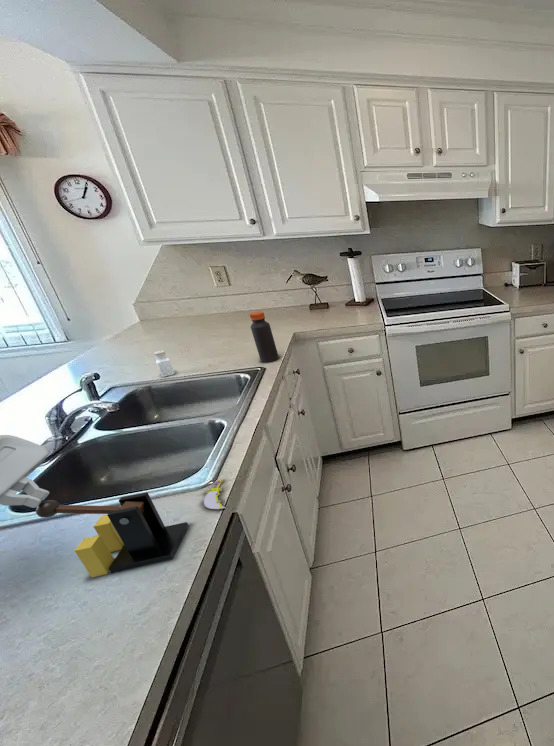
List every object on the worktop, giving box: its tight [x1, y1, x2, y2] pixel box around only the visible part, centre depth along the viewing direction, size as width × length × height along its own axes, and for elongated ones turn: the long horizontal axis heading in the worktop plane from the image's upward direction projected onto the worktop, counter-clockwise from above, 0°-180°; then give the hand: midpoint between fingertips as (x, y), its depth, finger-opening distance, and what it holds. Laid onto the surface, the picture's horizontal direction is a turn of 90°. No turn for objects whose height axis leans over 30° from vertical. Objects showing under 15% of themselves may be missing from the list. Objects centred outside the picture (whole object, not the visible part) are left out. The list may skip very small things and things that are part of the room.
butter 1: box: [92, 514, 124, 553], centre depth 82 cm, size 2×3×7 cm
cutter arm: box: [35, 499, 144, 519], centre depth 76 cm, size 15×3×3 cm, turn 108°
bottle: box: [249, 310, 280, 363], centre depth 167 cm, size 7×7×20 cm
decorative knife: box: [203, 479, 227, 510], centre depth 96 cm, size 12×1×5 cm
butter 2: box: [74, 534, 115, 578], centre depth 77 cm, size 2×3×7 cm
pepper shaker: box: [153, 350, 176, 378], centre depth 158 cm, size 4×4×10 cm
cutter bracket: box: [106, 491, 190, 574], centre depth 80 cm, size 10×9×12 cm
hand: (43, 500), depth 73 cm, fingers closed, pressing on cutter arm
